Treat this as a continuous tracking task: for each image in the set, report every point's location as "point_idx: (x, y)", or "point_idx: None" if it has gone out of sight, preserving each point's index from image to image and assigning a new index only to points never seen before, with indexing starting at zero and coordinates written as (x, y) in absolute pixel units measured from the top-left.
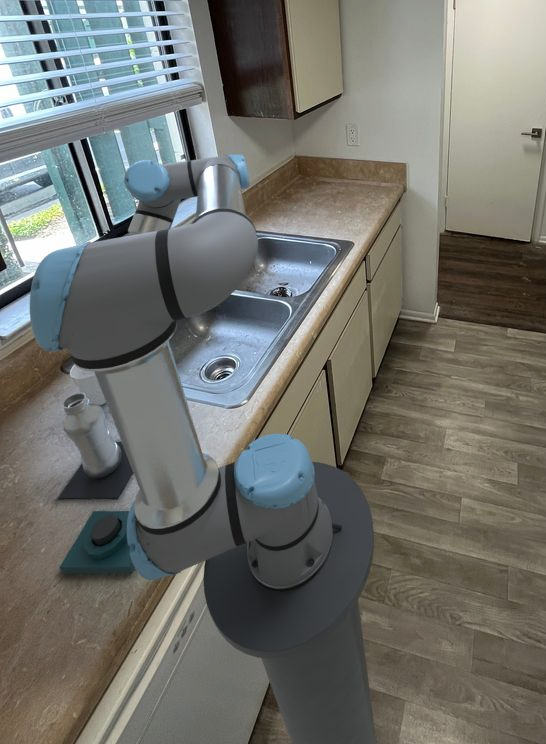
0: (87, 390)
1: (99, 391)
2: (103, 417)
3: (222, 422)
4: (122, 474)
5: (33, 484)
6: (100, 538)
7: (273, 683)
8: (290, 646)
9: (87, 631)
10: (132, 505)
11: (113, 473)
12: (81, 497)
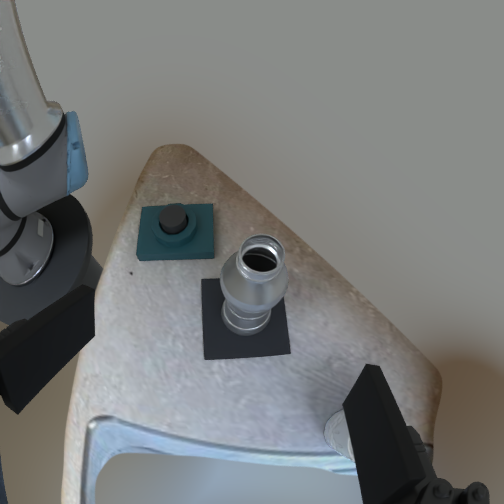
0: None
1: (339, 418)
2: (222, 291)
3: (109, 391)
4: (214, 307)
5: (327, 291)
6: (169, 205)
7: None
8: None
9: (164, 180)
10: (73, 125)
11: None
12: None
